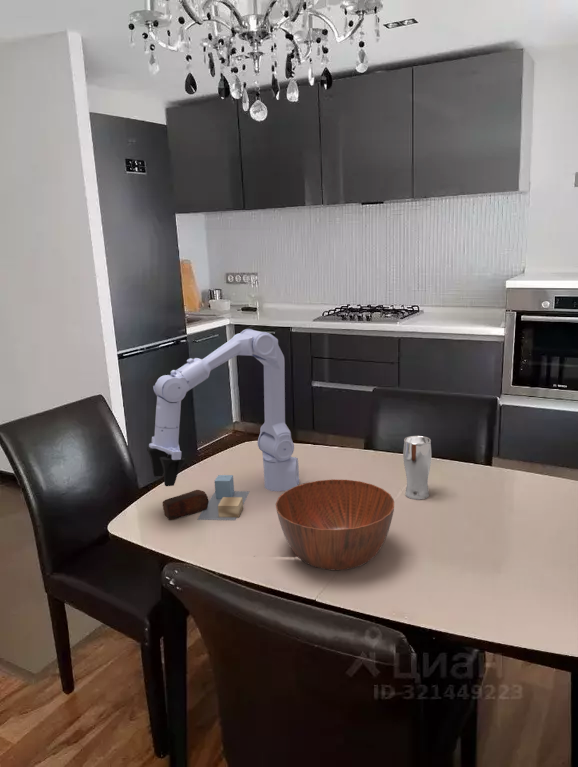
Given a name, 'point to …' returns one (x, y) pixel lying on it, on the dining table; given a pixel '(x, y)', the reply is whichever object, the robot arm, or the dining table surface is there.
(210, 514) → the board
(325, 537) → the bowl
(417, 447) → the beer glass
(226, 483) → the blue block
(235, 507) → the oak block
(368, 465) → the dining table surface
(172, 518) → the brick
